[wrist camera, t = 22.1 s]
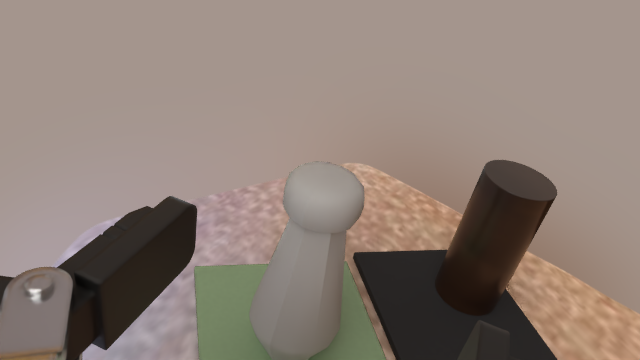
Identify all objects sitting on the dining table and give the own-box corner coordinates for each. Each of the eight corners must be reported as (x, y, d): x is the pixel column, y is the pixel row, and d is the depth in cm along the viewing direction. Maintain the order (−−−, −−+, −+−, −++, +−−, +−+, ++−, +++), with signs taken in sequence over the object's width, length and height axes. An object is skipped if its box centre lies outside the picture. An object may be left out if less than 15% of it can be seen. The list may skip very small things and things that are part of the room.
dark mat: (474, 253, 45) (476, 248, 45) (555, 366, 35) (559, 361, 35) (352, 257, 41) (354, 252, 41) (407, 384, 32) (409, 379, 31)
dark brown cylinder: (476, 268, 42) (529, 160, 36) (507, 314, 38) (572, 201, 32) (424, 270, 41) (471, 158, 35) (452, 318, 37) (509, 200, 31)
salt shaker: (235, 312, 33) (259, 148, 26) (312, 298, 36) (352, 144, 29) (261, 387, 29) (297, 215, 22) (346, 365, 31) (403, 203, 24)
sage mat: (344, 266, 40) (346, 260, 40) (411, 431, 29) (413, 426, 29) (194, 271, 36) (194, 266, 36) (204, 463, 25) (205, 457, 25)
